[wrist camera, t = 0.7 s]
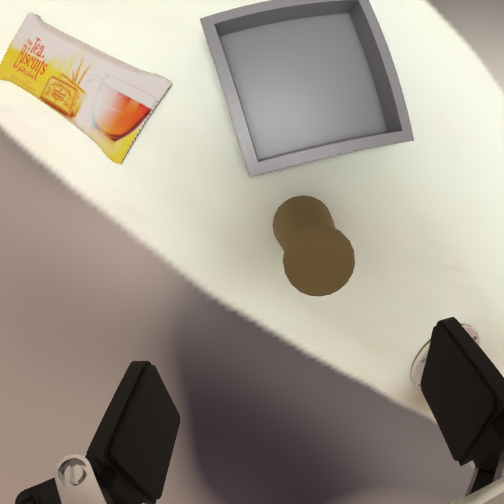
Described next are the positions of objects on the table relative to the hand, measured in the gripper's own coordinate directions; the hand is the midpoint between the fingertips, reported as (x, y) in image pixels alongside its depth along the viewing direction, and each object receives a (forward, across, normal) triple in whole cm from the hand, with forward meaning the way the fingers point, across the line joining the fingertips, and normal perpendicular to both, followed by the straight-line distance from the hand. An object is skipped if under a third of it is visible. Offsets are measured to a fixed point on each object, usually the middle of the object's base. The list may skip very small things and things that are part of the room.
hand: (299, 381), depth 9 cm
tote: (+22, -5, -13) cm, 26 cm away
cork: (+22, -3, +2) cm, 23 cm away
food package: (+23, +21, -21) cm, 37 cm away
